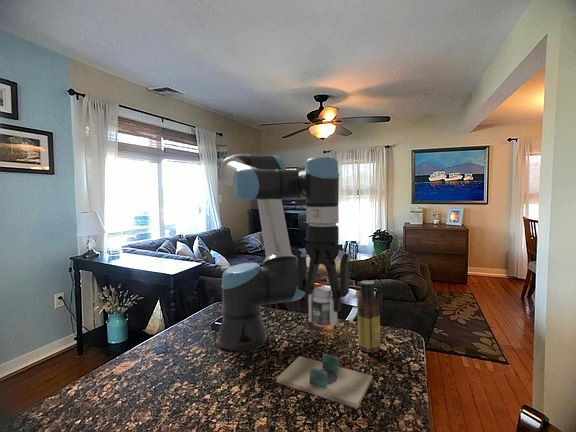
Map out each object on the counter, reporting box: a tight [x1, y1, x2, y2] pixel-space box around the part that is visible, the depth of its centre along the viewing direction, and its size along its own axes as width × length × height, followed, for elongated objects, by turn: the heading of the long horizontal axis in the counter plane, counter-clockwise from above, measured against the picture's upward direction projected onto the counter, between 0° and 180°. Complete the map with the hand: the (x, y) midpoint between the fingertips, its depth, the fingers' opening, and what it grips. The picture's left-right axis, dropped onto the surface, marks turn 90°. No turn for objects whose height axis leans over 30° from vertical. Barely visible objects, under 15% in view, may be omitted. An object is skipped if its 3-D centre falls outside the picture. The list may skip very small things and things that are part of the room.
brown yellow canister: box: [357, 280, 381, 354], centre depth 93 cm, size 7×6×20 cm
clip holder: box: [276, 352, 373, 410], centre depth 77 cm, size 20×12×4 cm, turn 61°
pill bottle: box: [312, 286, 332, 328], centre depth 76 cm, size 5×5×8 cm
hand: (322, 321), depth 76 cm, fingers closed on pill bottle, 5 cm apart
